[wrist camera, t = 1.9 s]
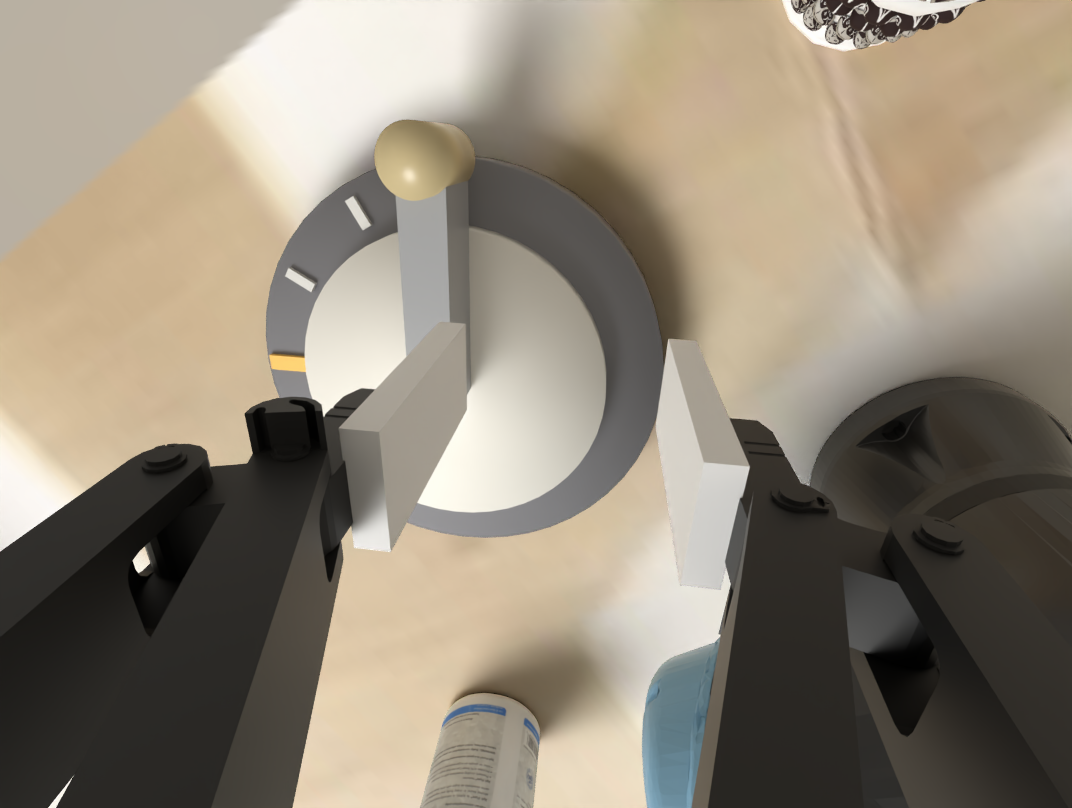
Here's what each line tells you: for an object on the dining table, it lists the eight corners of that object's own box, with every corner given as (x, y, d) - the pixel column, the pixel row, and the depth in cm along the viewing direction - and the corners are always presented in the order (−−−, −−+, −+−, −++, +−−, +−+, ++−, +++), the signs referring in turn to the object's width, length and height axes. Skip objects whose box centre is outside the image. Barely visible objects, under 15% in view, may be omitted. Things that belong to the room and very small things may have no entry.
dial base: (688, 165, 32) (695, 168, 29) (636, 529, 43) (637, 558, 40) (260, 146, 34) (226, 146, 32) (315, 495, 46) (295, 520, 43)
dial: (593, 512, 39) (589, 585, 33) (334, 486, 41) (283, 549, 35) (631, 131, 29) (637, 128, 22) (282, 117, 31) (195, 111, 24)
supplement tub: (432, 727, 57) (378, 905, 43) (469, 673, 53) (421, 852, 39) (517, 764, 58) (489, 950, 44) (560, 714, 54) (543, 903, 40)
